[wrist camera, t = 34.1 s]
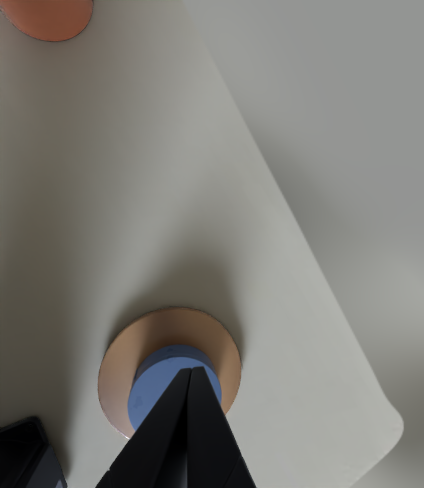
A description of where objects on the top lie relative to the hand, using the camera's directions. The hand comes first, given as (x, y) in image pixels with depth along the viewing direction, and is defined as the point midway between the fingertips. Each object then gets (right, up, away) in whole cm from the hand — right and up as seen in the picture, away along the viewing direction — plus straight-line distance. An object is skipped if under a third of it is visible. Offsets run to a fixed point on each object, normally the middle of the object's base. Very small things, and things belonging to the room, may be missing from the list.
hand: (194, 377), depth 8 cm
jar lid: (-2, -6, +8) cm, 11 cm away
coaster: (-2, -6, +10) cm, 12 cm away
